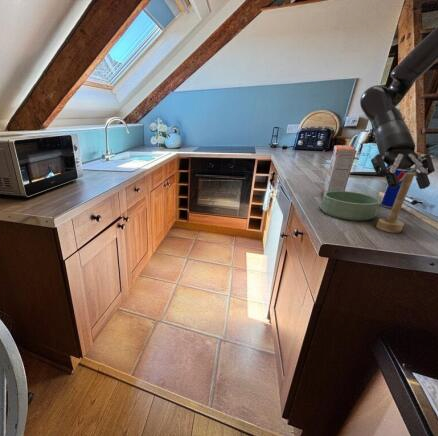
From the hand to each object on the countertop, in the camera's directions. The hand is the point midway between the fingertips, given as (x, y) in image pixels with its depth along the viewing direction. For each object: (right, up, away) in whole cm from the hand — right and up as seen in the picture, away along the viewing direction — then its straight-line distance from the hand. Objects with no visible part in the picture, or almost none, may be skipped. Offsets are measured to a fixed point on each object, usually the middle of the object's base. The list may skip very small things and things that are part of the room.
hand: (410, 187), depth 68 cm
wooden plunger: (+1, -12, +7) cm, 14 cm away
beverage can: (+19, -4, +24) cm, 31 cm away
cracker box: (+5, 0, +36) cm, 36 cm away
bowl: (-2, -7, +19) cm, 21 cm away
